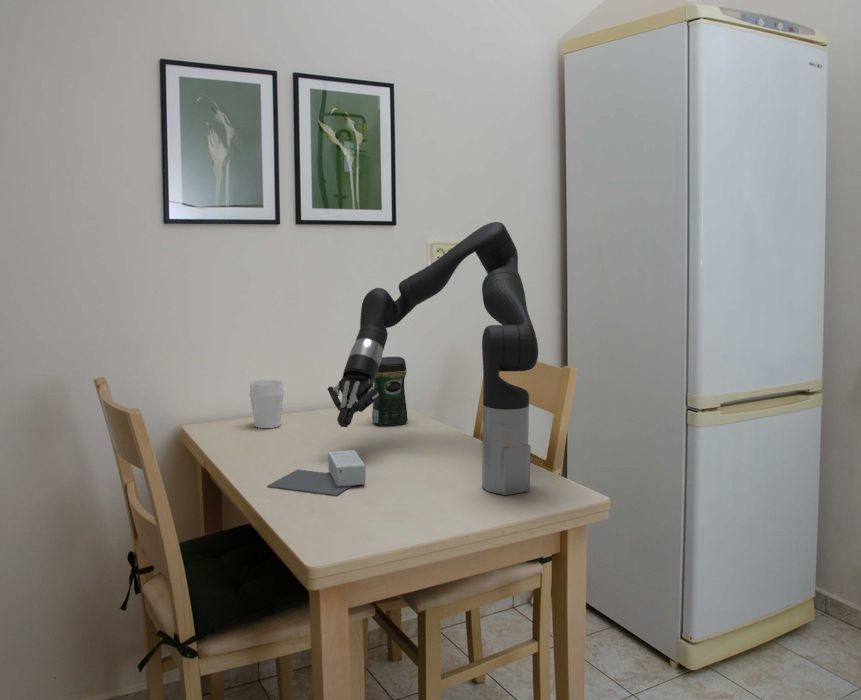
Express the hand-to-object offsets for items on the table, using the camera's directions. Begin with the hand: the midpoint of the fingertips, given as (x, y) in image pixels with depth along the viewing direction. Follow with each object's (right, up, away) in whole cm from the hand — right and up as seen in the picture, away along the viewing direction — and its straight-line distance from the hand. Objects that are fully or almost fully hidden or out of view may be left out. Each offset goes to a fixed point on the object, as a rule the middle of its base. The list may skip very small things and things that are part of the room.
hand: (342, 425), depth 168 cm
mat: (-4, -11, -12) cm, 17 cm away
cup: (-25, -4, +37) cm, 45 cm away
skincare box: (0, -7, -4) cm, 8 cm away
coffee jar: (+8, -4, +41) cm, 42 cm away
